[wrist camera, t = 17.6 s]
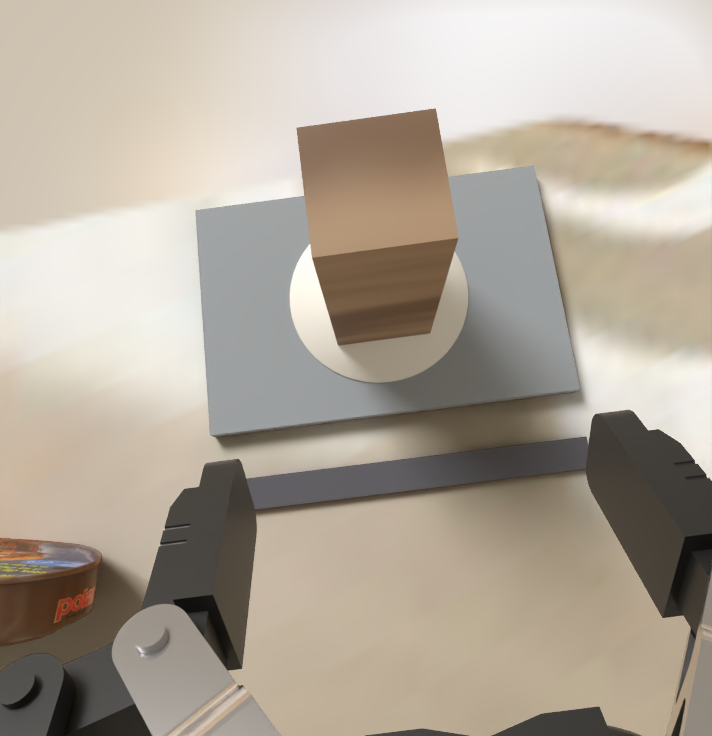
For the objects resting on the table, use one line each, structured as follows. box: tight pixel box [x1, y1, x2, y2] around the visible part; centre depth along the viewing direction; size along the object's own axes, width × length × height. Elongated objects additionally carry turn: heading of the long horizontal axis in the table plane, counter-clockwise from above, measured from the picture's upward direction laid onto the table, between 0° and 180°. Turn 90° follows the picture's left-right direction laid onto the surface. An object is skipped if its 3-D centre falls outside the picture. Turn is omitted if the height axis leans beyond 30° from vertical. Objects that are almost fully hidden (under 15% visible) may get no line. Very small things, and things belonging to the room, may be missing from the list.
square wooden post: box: [297, 109, 459, 346], centre depth 24 cm, size 5×5×11 cm
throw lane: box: [196, 166, 588, 510], centre depth 29 cm, size 16×18×1 cm
